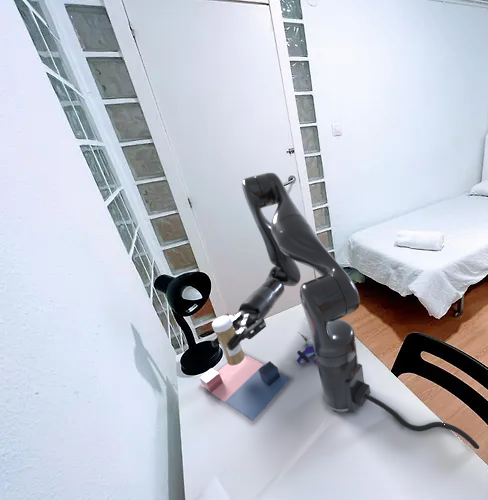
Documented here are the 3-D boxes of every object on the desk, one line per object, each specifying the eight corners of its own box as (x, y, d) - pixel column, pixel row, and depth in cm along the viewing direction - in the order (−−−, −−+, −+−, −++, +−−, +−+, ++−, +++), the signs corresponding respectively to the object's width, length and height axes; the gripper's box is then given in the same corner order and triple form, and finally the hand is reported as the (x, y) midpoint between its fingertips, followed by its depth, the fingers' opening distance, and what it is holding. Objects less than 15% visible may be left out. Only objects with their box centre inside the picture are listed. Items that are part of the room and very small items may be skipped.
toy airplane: (297, 336, 88) (295, 328, 87) (340, 336, 86) (339, 327, 85) (285, 371, 77) (282, 361, 75) (335, 371, 75) (333, 361, 73)
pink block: (223, 382, 75) (219, 373, 73) (211, 392, 72) (206, 383, 71) (216, 377, 77) (211, 367, 75) (203, 386, 74) (199, 377, 72)
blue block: (280, 376, 74) (277, 367, 73) (268, 386, 72) (265, 376, 70) (272, 370, 77) (269, 360, 75) (261, 379, 74) (258, 369, 73)
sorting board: (291, 379, 74) (291, 378, 74) (253, 422, 64) (252, 421, 64) (240, 353, 85) (240, 352, 84) (201, 387, 75) (200, 385, 75)
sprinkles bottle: (241, 365, 73) (226, 326, 67) (224, 366, 73) (207, 327, 67) (247, 352, 77) (233, 313, 71) (231, 353, 77) (216, 315, 71)
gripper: (236, 292, 84) (193, 331, 70) (277, 295, 80) (240, 338, 66) (242, 311, 88) (203, 353, 73) (282, 316, 83) (249, 361, 69)
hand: (221, 345), depth 69 cm, fingers closed on sprinkles bottle, 4 cm apart
